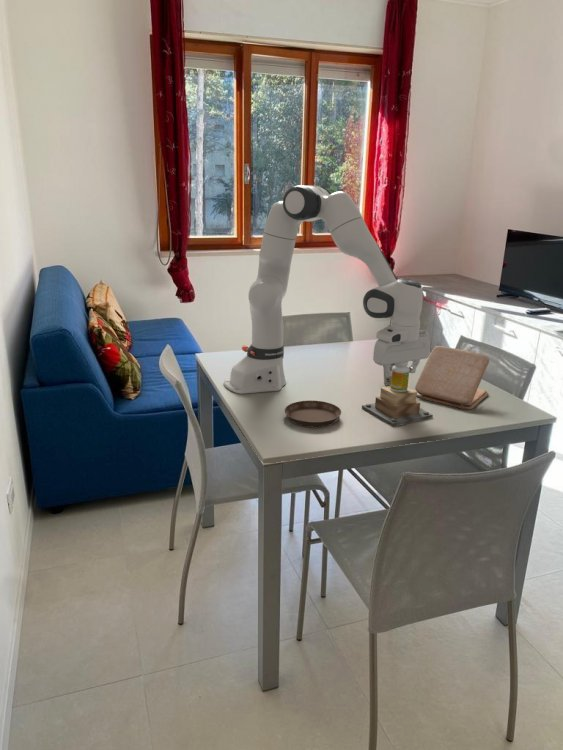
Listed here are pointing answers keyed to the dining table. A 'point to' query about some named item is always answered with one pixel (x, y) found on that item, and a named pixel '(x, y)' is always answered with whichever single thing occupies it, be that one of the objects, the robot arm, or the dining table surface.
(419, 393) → the case
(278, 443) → the dining table surface
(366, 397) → the dining table surface
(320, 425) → the plant saucer
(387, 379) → the coffee cup
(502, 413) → the dining table surface
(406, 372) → the supplement bottle
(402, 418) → the tower
